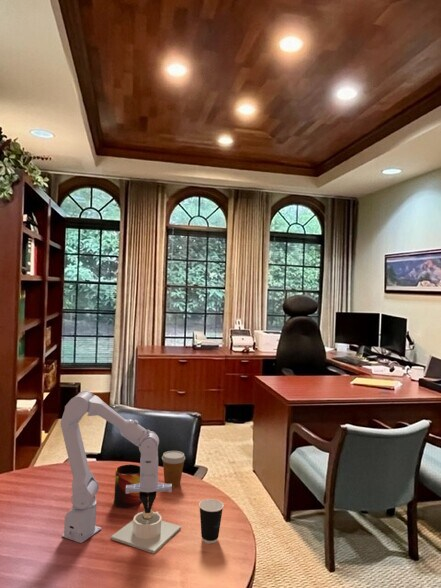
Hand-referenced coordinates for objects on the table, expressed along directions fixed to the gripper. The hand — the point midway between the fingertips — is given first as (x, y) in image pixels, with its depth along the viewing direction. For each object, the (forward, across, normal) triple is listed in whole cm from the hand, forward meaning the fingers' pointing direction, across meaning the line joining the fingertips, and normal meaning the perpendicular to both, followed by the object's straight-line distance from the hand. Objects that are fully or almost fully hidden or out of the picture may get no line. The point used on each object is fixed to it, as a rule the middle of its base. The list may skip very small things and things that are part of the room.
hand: (148, 514), depth 140 cm
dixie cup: (+7, -20, +3) cm, 21 cm away
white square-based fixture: (+6, 0, 0) cm, 6 cm away
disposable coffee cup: (+7, -7, -37) cm, 38 cm away
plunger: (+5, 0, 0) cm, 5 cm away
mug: (+6, +8, -23) cm, 25 cm away
